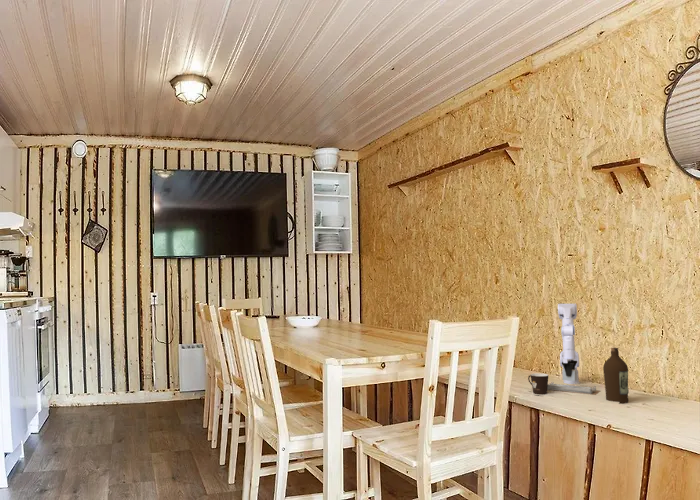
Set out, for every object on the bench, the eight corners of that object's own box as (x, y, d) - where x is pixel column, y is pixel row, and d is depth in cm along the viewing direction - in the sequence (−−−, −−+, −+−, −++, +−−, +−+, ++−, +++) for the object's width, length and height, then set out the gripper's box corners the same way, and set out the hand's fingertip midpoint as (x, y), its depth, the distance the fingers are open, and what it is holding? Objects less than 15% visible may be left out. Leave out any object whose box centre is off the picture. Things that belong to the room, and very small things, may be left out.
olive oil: (600, 401, 266) (597, 348, 267) (613, 397, 272) (610, 346, 273) (621, 405, 257) (618, 350, 258) (634, 401, 263) (631, 348, 264)
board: (549, 387, 300) (548, 386, 300) (600, 392, 284) (600, 390, 284) (542, 391, 291) (542, 389, 291) (595, 396, 276) (595, 394, 276)
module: (564, 378, 291) (564, 367, 291) (576, 379, 287) (576, 368, 287) (562, 379, 288) (562, 368, 288) (574, 381, 284) (574, 369, 284)
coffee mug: (551, 396, 278) (550, 376, 279) (534, 396, 278) (533, 376, 279) (544, 391, 290) (543, 372, 290) (527, 392, 290) (526, 372, 291)
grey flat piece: (552, 386, 298) (551, 382, 298) (596, 390, 285) (595, 386, 285) (546, 389, 291) (546, 384, 291) (591, 394, 278) (591, 389, 278)
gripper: (564, 346, 296) (566, 372, 296) (556, 350, 285) (557, 377, 284) (578, 347, 292) (580, 373, 291) (571, 350, 280) (572, 378, 280)
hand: (570, 375), depth 287 cm, fingers closed on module, 4 cm apart
